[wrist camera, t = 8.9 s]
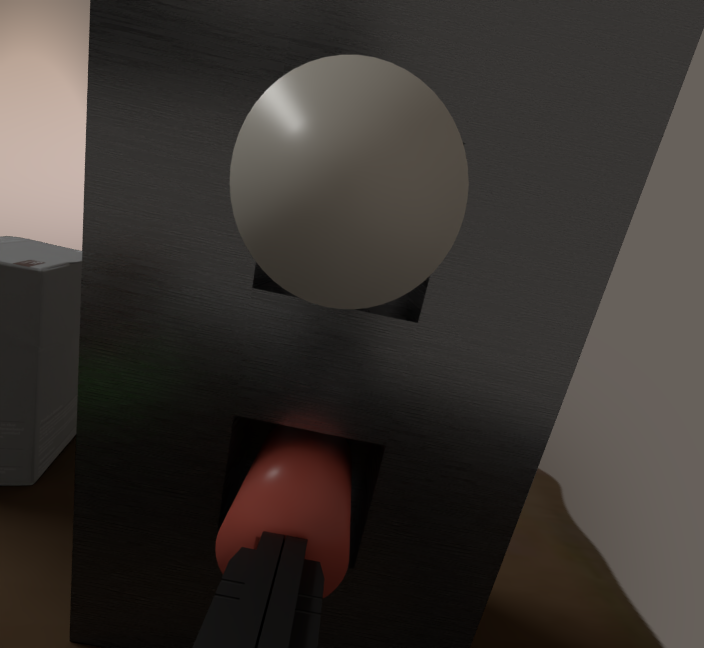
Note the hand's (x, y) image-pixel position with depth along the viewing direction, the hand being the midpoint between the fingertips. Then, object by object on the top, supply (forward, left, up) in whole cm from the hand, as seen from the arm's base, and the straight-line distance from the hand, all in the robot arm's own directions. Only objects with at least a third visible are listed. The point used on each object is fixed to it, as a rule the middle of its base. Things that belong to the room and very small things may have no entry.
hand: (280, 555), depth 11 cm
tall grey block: (+4, +4, -10) cm, 12 cm away
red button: (+2, +2, -2) cm, 3 cm away
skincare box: (-6, +25, -10) cm, 28 cm away
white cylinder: (0, 0, +9) cm, 9 cm away
